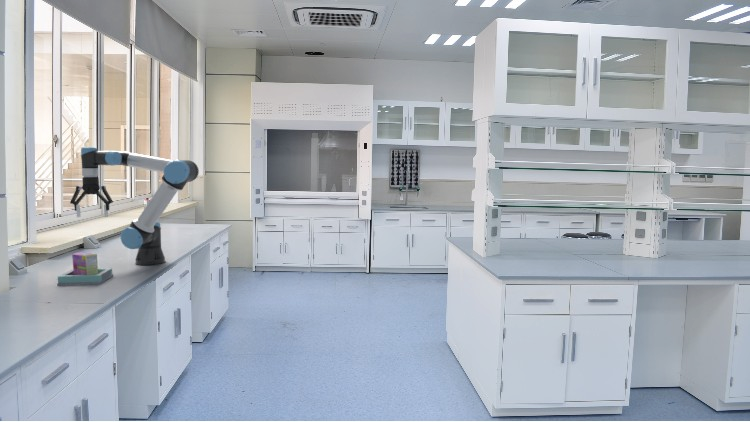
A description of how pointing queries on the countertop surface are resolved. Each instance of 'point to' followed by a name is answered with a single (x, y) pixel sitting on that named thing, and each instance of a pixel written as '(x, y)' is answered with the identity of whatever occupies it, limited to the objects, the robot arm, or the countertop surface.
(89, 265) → the box
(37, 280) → the countertop surface
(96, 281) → the teal square tray
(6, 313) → the countertop surface
